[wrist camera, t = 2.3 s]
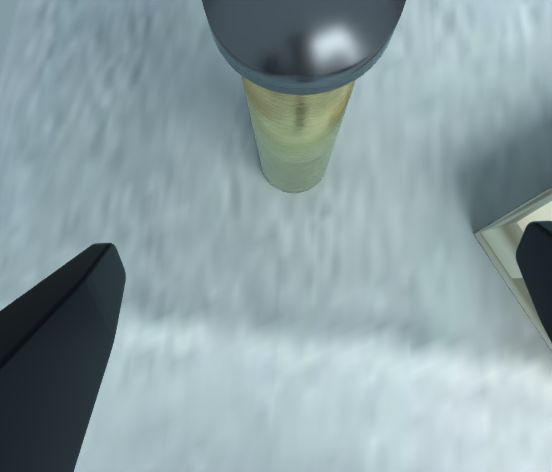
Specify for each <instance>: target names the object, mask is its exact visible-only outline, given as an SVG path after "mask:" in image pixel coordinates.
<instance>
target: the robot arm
mask: <svg viewBox="0 0 552 472" xmlns="http://www.w3.org/2000/svg"><path fill="white" fill-rule="evenodd" d="M516 261H517V264H518V267H519V269H520V272H521V274H522V277H523V280H524V282H525V285H526V287H527V290H528V292H529V295H530V297H531V300H532V302H533V305H534V307H535V310H536V312H537V315H538V317H539V319H540V321H541V323H542V325H543V327H544V329H545V331H546V333H547V335H548V337H549V339H550V341H551V343H552V221H532V222H530V223H529V224H528V225H527V226H526V228H525V230H524V233H523V235H522V237H521V240H520V242H519V245H518V247H517V250H516ZM125 280H126V273H125V269H124V267H123V264H122V261H121V259H120V256H119V254H118V251H117V249H116V247H115V245H114V244H112V243H97V244H93V245H91V246H90V247H88V248H87V249H86V250H84V251H83V252H81V253H80V254H79V255H77V256H76V257H75V258H73V259H72V260H70V261H69V262H68V263H66V264H65V265H63V266H62V267H61V268H59V269H58V270H57V271H55V272H54V273H52V274H51V275H50V276H48V277H47V278H45V279H44V280H43V281H41V282H40V283H38V284H37V285H36V286H34V287H33V288H32V289H30V290H29V291H27V292H26V293H25V294H23V295H22V296H20V297H19V298H18V299H16V300H15V301H14V302H12V303H11V304H9V305H8V306H7V307H5V308H4V309H2V310H1V311H0V472H74V469H75V465H76V462H77V459H78V456H79V453H80V449H81V446H82V443H83V440H84V437H85V433H86V430H87V427H88V424H89V420H90V417H91V414H92V411H93V408H94V404H95V401H96V398H97V395H98V392H99V388H100V385H101V382H102V379H103V376H104V372H105V369H106V366H107V363H108V360H109V356H110V353H111V350H112V346H113V343H114V339H115V334H116V329H117V324H118V319H119V313H120V308H121V302H122V297H123V291H124V286H125Z"/></svg>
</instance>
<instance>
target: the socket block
mask: <svg viewBox="0 0 552 472" xmlns="http://www.w3.org/2000/svg"><path fill="white" fill-rule="evenodd" d="M532 221H552V187H550V188H549V189H547V190H546V191H544V192H542V193H541V194H539V195H537V196H536V197H534V198H532V199H531V200H529V201H527V202H526V203H524V204H522V205H521V206H519V207H517V208H516V209H514V210H513V211H511V212H509V213H508V214H506V215H504V216H503V217H501V218H499V219H498V220H496V221H494V222H493V223H491V224H489V225H488V226H486V227H484V228H483V229H481V230H480V231H478V232H476V233H475V234H474V236H475V237H476V238H477V240H478V241H479V243H480V244H481V246H482V247H483V249H484V250H485V252H486V253H487V255H488V256H489V258H490V259H491V261H492V262H493V264H494V265H495V267H496V268H497V270H498V271H499V273H500V274H501V276H502V277H503V279H504V280H505V282H506V283H507V285H508V286H509V288H510V289H511V291H512V292H513V294H514V295H515V297H516V298H517V300H518V301H519V303H520V304H521V306H522V307H523V309H524V310H525V312H526V313H527V315H528V316H529V318H530V319H531V321H532V322H533V324H534V325H535V327H536V328H537V330H538V331H539V333H540V334H541V336H542V337H543V339H544V340H545V342H546V343H547V345H548V346H549V348H550V349H551V351H552V343H551V341H550V339H549V337H548V335H547V333H546V331H545V329H544V327H543V325H542V323H541V321H540V319H539V317H538V315H537V312H536V310H535V307H534V305H533V302H532V300H531V297H530V295H529V292H528V290H527V287H526V285H525V282H524V280H523V277H522V274H521V272H520V269H519V267H518V264H517V261H516V250H517V247H518V245H519V242H520V240H521V237H522V235H523V233H524V230H525V228H526V226H527V225H528V224H529V223H530V222H532Z"/></svg>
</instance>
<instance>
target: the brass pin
mask: <svg viewBox="0 0 552 472" xmlns="http://www.w3.org/2000/svg"><path fill="white" fill-rule="evenodd" d="M405 1H406V0H202V2H203V6H204V10H205V13H206V16H207V20H208V23H209V26H210V30H211V33H212V35H213V38H214V41H215V43H216V45H217V47H218V49H219V51H220V53H221V54H222V55H223V57H224V58H225V59H226V61H227V62H228V63H229V64H230V65H231V66H232V67H233V68H234V69H235V70H236V71H237V72H238V73H239V74H240V75H242V79H243V84H244V88H245V93H246V98H247V102H248V107H249V111H250V116H251V120H252V125H253V130H254V134H255V139H256V143H257V148H258V153H259V157H260V162H261V166H262V170H263V173H264V175H265V177H266V179H267V180H268V181H269V182H270V183H271V184H272V185H273V186H274V187H276V188H277V189H279V190H281V191H284V192H289V193H300V192H304V191H307V190H309V189H311V188H312V187H314V186H315V185H316V184H317V183H318V182H319V181H320V180H321V179H322V177H323V175H324V173H325V171H326V168H327V165H328V162H329V159H330V156H331V153H332V150H333V147H334V143H335V140H336V137H337V134H338V131H339V128H340V125H341V122H342V119H343V116H344V113H345V110H346V107H347V104H348V101H349V98H350V95H351V92H352V89H353V86H354V83H355V80H356V79H357V78H359V77H360V76H362V75H363V74H364V73H365V72H367V71H368V70H369V69H370V68H371V67H372V66H373V65H374V64H375V63H376V62H377V60H378V59H379V58H380V57H381V55H382V54H383V52H384V51H385V49H386V48H387V46H388V44H389V41H390V39H391V37H392V35H393V33H394V30H395V28H396V25H397V23H398V21H399V18H400V16H401V13H402V11H403V8H404V5H405Z"/></svg>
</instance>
